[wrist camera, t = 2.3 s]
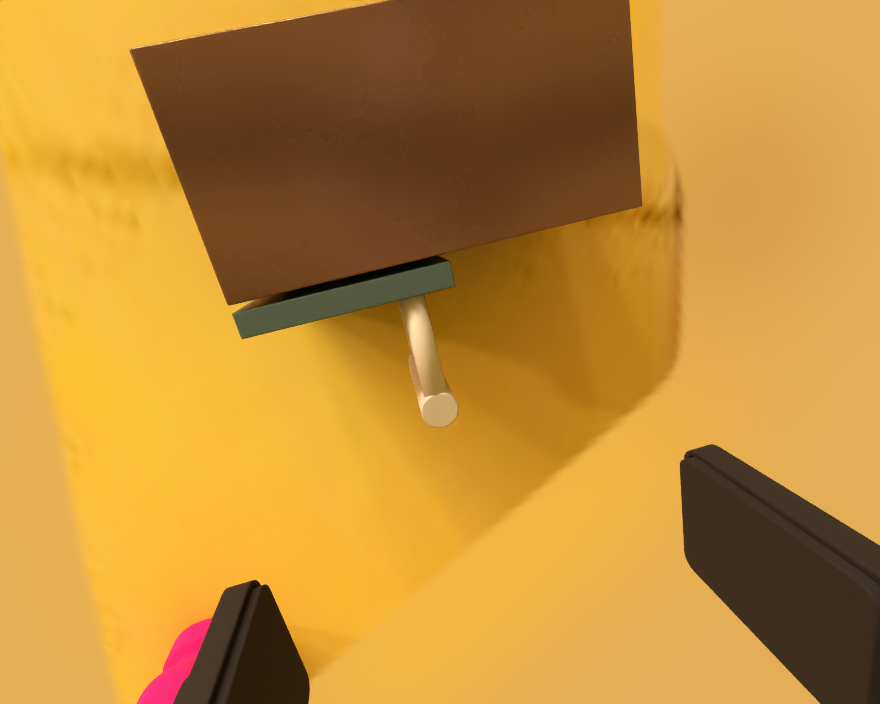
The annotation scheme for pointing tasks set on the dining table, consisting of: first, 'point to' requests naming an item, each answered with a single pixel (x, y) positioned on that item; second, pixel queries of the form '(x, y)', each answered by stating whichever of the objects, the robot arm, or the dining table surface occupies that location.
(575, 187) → the cabinet
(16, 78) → the dining table surface
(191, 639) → the pepper mill
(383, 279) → the sliding door
